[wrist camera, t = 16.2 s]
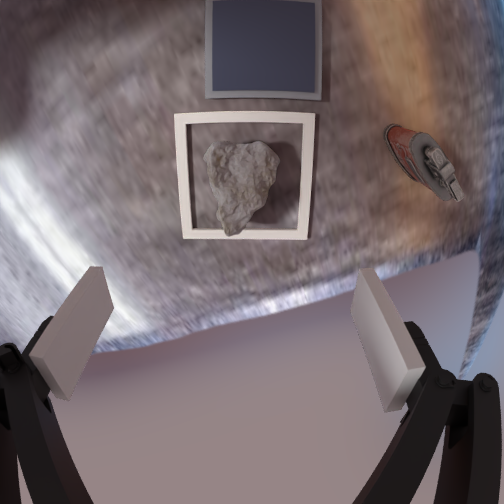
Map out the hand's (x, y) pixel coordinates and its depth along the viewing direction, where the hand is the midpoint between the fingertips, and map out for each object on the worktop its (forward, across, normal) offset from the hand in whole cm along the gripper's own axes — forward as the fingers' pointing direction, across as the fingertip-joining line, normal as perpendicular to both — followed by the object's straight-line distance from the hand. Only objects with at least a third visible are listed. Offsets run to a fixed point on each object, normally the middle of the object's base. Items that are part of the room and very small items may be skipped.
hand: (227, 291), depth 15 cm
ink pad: (+22, +2, +15) cm, 26 cm away
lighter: (+22, +19, +4) cm, 29 cm away
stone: (+22, 0, 0) cm, 22 cm away
